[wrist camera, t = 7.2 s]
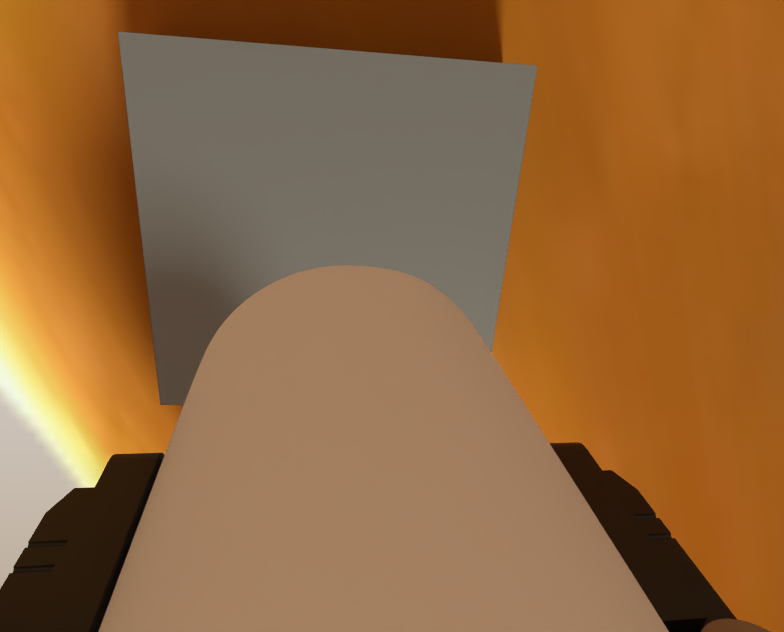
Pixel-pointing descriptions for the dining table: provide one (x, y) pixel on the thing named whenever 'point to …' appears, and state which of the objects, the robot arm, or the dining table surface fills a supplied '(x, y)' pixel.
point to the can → (365, 482)
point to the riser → (314, 176)
